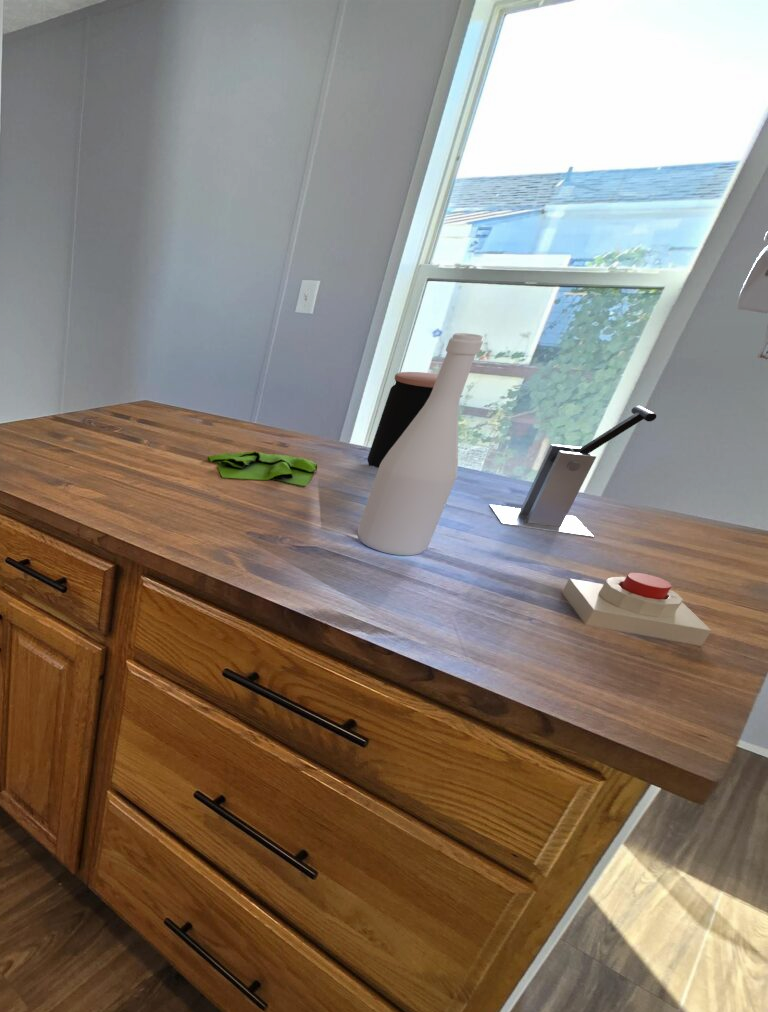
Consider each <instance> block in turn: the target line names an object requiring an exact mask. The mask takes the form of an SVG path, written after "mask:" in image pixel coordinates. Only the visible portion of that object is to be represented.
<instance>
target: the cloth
mask: <svg viewBox="0 0 768 1012" xmlns="http://www.w3.org/2000/svg"><path fill="white" fill-rule="evenodd" d="M207 460H209V461H210V462H211V463H212V462H214V463H217V464H218V465H217V470H218V472H219V474H220V476H221V478H222V479H235V480H249V481H250V480H251V481H252V480H253V481H269V480H271V479H272V481H275V482H276V481H277V482H283V483H286V484H291V485H295V486H301V487H306V486H307V485H308V484H309V482H310V481H311V480H312V478H313V476H314V475H315V472H314V471H316V470H317V469H318V464H317V463H316V462H314V461H312V460H309V459H307V458H302V457H297V456H292V455H285V454H274V453H272V454H270V453H269V454H268V453H263V452H259V451H244V452H233V453H229V452H227V453H219V454H214V455H208V456H207Z"/></svg>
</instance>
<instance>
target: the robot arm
mask: <svg viewBox="0 0 768 1012" xmlns="http://www.w3.org/2000/svg"><path fill="white" fill-rule="evenodd" d="M763 241H764V243H767V244H768V230H767V231H766V232H765V236H764V238H763ZM736 306H737V307H736V308H737V310H739V311H744V312H751V313H755V314H762V315H766V316H768V245H767V246H765V247H764V248H763V249H762V251H761V252H760V253H759V255H758V256H757V257H756V260H755V261H754V263H753V265H752V267H751V269H750V271H749V273H748V275H747V277H746V279H745V281H744V283H743V285H742V287H741V289H740V292H739V294H738V297H737V304H736ZM757 358H758V359H759V360H763V361H767V362H768V325H767V326H766V332H765V338H764V344H763V345H762V347H761V349H760V350H759V353H758V354H757Z"/></svg>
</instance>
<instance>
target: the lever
mask: <svg viewBox="0 0 768 1012" xmlns="http://www.w3.org/2000/svg"><path fill="white" fill-rule="evenodd" d="M630 412H631V413H632V415H630V416H629V417H627V418H626V419H623V421H621V422H619V423H617V424H616V425H615V426H613V427H612V428H610V429H608V430H606V431H605V432H604V433H602V434H601V435H599V436H596V437H595V438H594V439H592V440H591V441H589V442H588V443H586V444H584V445H583V446H580V447H581V448H580V449H578V450H577V451H574V450H572V449H571V448H569V449H568V450H566V452H575V453H584V454H591V453H592V452H594V451H595V450H597V449H599V448H600V447H601V446H603V445H605V444H606V443H608V442H609V441H611V440H613V439H614V438H616V437H618V436H619V435H620V434H623V433H624V432H626V431H627V430H629V429H630V428H632V427H633V426H635V425H636V424H638V423H640V422H641V421H646V422H653V421H655V420H656V419H657V414H656V413H655V412H653V411H651V410H649V409H647V408H645V407H643V406H641V405H636V406H634V407H633V408H632V409H631V411H630ZM555 459H556V457H555V458H553V459H552V460H551V461H552V462H553V463H554V461H555Z"/></svg>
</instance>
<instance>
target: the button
mask: <svg viewBox="0 0 768 1012" xmlns="http://www.w3.org/2000/svg"><path fill="white" fill-rule="evenodd" d="M625 577H626V579H625V580H624V582H623V584H622V585H621V588H622V589H624V590H626V591H628V592H630V593H633V594H636V595H639V596H643V597H646V598H652V599H664V598H665V597H666V595H667V593H668V592H669V590H672V587H673V584H671V582H669V581H667V580H665V579H663V578H661V577H658V576H655V575H652V574H647V573H642V572H630V573H628V574H627V576H625Z"/></svg>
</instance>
